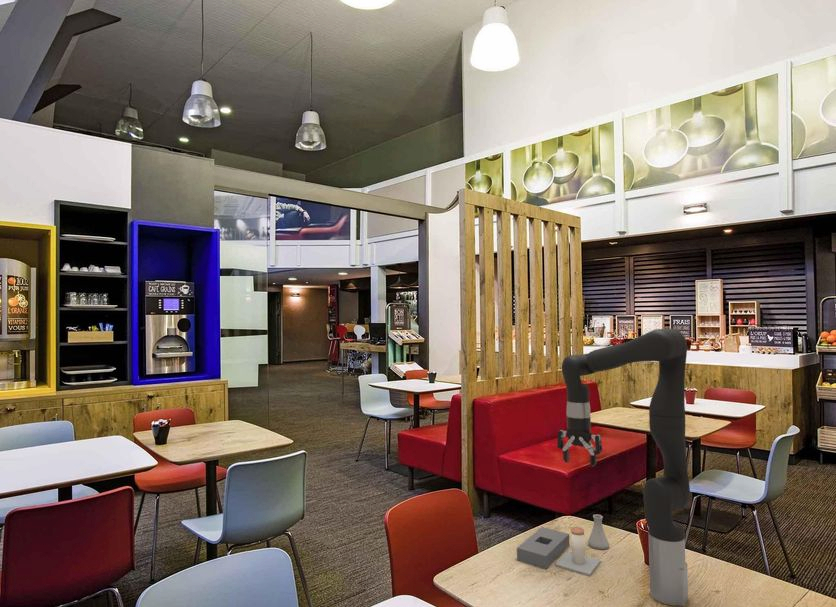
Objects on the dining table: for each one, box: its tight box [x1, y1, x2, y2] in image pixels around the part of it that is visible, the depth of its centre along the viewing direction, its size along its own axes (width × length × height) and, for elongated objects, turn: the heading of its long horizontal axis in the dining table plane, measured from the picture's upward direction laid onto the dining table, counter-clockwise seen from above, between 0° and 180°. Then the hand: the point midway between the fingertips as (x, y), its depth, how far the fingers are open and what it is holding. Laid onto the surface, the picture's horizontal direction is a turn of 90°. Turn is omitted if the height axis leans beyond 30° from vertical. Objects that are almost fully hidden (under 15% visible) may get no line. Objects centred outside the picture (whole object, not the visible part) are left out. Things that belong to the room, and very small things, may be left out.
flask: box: [587, 514, 610, 550], centre depth 175 cm, size 7×7×10 cm
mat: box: [554, 550, 602, 577], centre depth 162 cm, size 11×11×1 cm
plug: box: [570, 526, 586, 564], centre depth 163 cm, size 4×4×10 cm
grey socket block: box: [516, 526, 571, 570], centre depth 170 cm, size 10×20×4 cm, turn 143°
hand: (579, 464), depth 168 cm, fingers open, 8 cm apart
